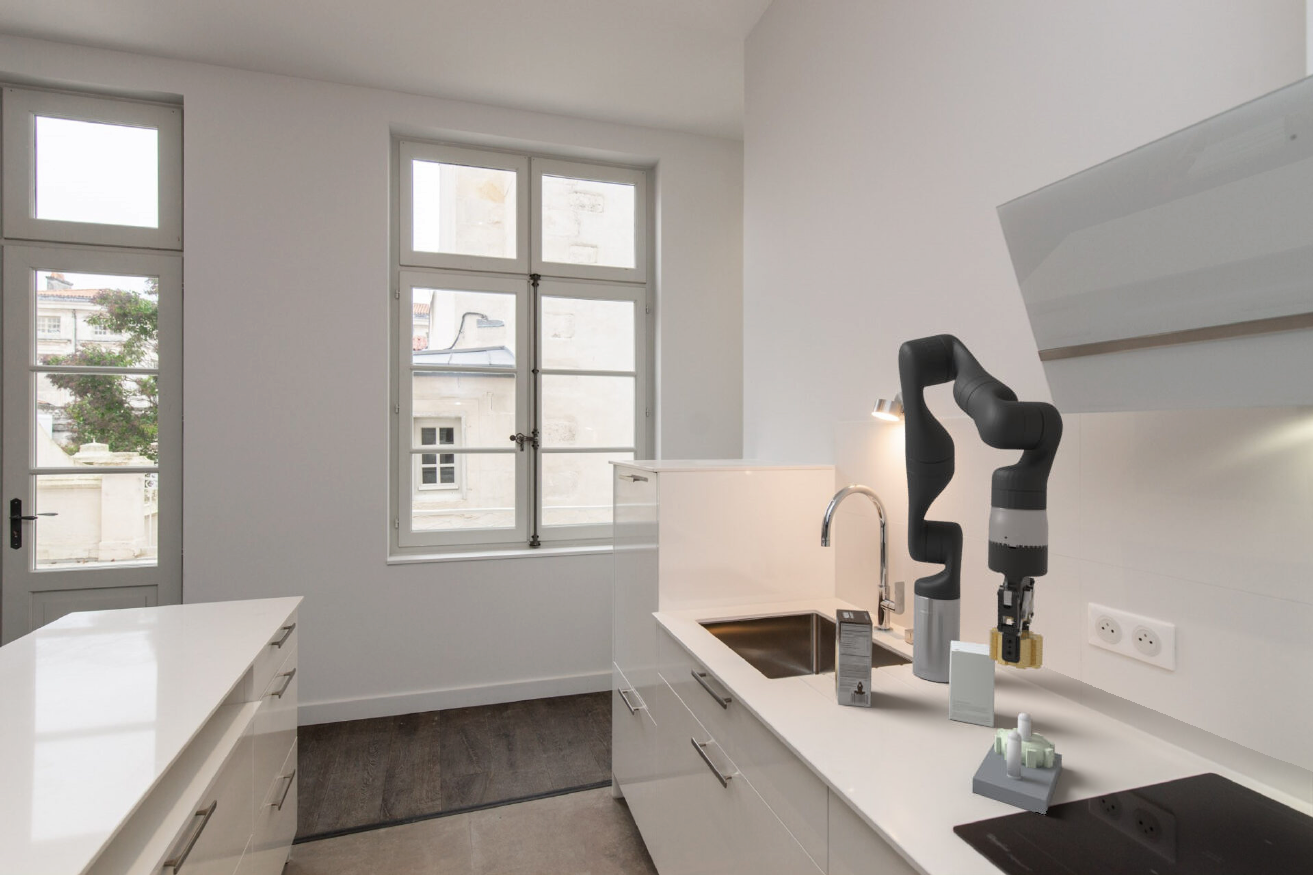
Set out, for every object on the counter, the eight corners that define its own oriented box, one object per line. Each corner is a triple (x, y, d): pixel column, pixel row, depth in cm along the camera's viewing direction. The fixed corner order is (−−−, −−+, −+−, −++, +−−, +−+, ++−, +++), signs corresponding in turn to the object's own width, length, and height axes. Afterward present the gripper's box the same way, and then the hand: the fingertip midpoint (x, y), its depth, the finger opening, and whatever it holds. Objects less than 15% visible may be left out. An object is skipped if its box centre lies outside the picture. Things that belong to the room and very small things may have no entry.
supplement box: (994, 728, 114) (995, 656, 114) (948, 719, 117) (949, 649, 117) (992, 712, 121) (993, 644, 121) (948, 705, 124) (950, 638, 124)
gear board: (997, 749, 106) (998, 697, 106) (1061, 767, 100) (1062, 712, 100) (972, 791, 92) (973, 732, 93) (1045, 815, 87) (1046, 752, 87)
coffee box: (833, 686, 132) (835, 607, 132) (866, 690, 130) (868, 610, 131) (837, 704, 123) (838, 619, 123) (872, 708, 121) (874, 622, 122)
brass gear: (995, 650, 98) (995, 624, 98) (1044, 660, 94) (1045, 632, 94) (985, 661, 93) (986, 633, 93) (1037, 672, 89) (1038, 643, 89)
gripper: (999, 532, 101) (997, 639, 101) (977, 541, 90) (975, 661, 90) (1054, 537, 97) (1052, 649, 97) (1039, 548, 85) (1037, 674, 85)
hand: (1015, 654), depth 93 cm, fingers closed on brass gear, 6 cm apart
